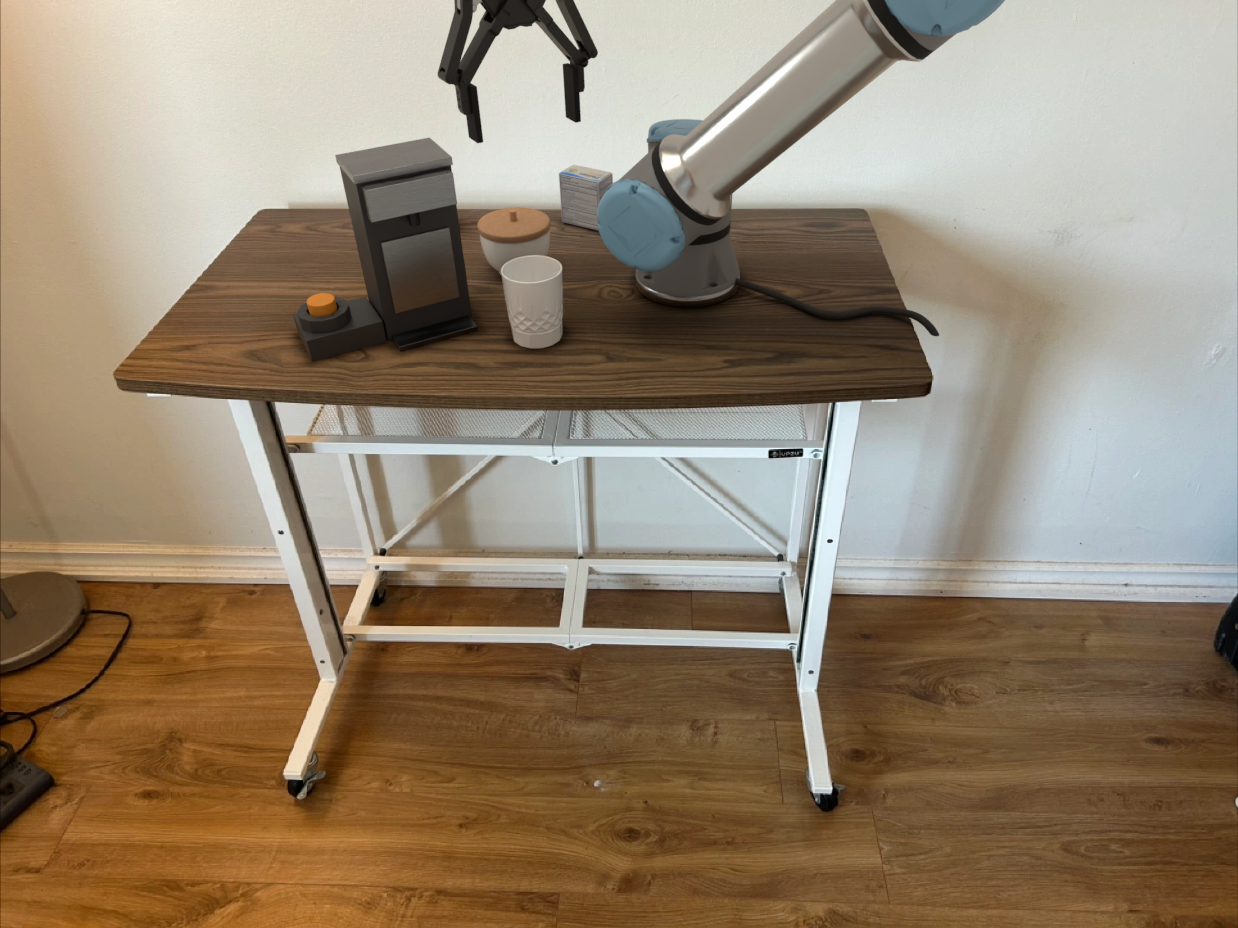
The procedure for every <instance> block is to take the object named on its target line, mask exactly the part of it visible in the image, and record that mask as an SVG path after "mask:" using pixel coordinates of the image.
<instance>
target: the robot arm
mask: <svg viewBox="0 0 1238 928" xmlns="http://www.w3.org/2000/svg"><path fill="white" fill-rule="evenodd" d="M546 1H547V0H454V1H453V2H454V13H453V16H452V19H451V23H450V27H449V30H448V34H447V38H446V42H445V45H444V48H443V49H444V50H443V52H442V56H441V60H440V62H439V66H438V70H437V77H438V79H440V80H441V81H442V82H444V83H446V84H448V85H454V88H455V95H456V103H457V109H458V112H459V113H461V114H462V115H464V116H465V118H466V125H467V133H468V138H469V139H471V141H474V142H475V143H476V144H482V143H484V137H483V135H484V134H483V128H482V127H483V126H482V119H481V112H480V111H481V110H480V102H479V94H478V87H477V86H476V85H475V84H473V83H472V81H473V79H474V78H475V76H476V73H477V72H478V70H479V68H480V66H481V65H482V63H483V60H484V59H485V57H486V55H487V53H488V51H489V50H490V48H491V46H492V45H493V43H494V42H495V39H496V37H498V36H500V34H501V32H502V30H503V29H505V30H508V31H509V30H516V29H517V28H519V27H524V28H526V27H533V25H534V23H535V24H536V25H537V26H538V27H539V29H541V30H542V32H543V33H544V34H545V35H546V36H547V37H548V38H549V40H550V41H551V42H552V43H553V44H554V45H555V46H556V47H557V49H558V50H559V51H560V53H562V55H563V56H564V57H565V58H566V59H567V61H569V62H565V63H562V74H563V75H562V76H563V77H562V78H563V93H564V111H565V118H567V119H568V120H570V121H571V122H574V123H575V124H577V123H581V122H582V117H581V116H582V115H581V114H582V113H581V97H580V93H584V92H585V86H586V83H585V68H587V67H588V65H589V61H590V60H591V59H595V58H597V56H598V54H599V51H598V48H597V46H596V44H595V43H594V40H593V38H592V36H591V33H590V31H589V30H588V28H587V26H586V24H585V21H584V19H583V17H582V15H581V12H580V11H579V9H578V7H577V5H576V3H575V0H555V3H556V5H557V7H558V9H559V11H560V14H561V15H562V17H563V20H564V21H565V24H566V25H567V28H568V29H569V32H570V34H571V36H572V37H573V39H574V42H575V44H576V45H575V44H574V43H573V42H572V41H571V39H570V38H569V37H568V36H567V35H566V34H565V32H564V31H563V30H562V29H561V28H560V27H559V25H558V24H557V23H556V21H554V18H553V17H552V16H551V14H550V13H549V12H548V11H547V9H545V7H544V5H545V3H546ZM1005 1H1006V0H834V1H833V2H832V3H831V4H830V5H829V6H828V7H827V8H826V9H825V10H824V11H823V12H821V13H820V14H819V15H818V16H816V18H814V20H812V22H810V23H808V25H807V26H806V27H804V28H803V30H801V31H800V32H799V33H798V34H797V35H796V36H795V37H794V38H793V39H791V40H790V41H789V42H788V43H787V44H786V45H785V46H784V47H783V48H782V49H780V50H779V51H778V52H777V53H776V54H775V55H774V56H773V57H771V58H770V59H769V60H768V61H767V62H766V63H765V64H764V65H762V67H760V68H759V69H758V70H757V71H756V72H755V73H754V74H753V75H752V76H750V77H749V78H748V79H747V80H746V81H745V82H744V83H743V84H742V85H740V86H739V88H737V89H736V90H735V91H734V92H733V93H731V95H730V96H728V97H727V98H726V99H725V100H724V101H723V102H721V104H720V105H718V106H717V107H716V108H715V109H714V110H713V111H712V112H710V113H709V114H708V116H706V117H705V118H704V119H692V118H691V119H690V118H686V119H685V118H677V119H666V120H661V121H657V122H655V123H653V124H651V125H650V127H649V129H648V132H647V138H646V143H647V153H646V154H644V156H643V157H642V158H641V159H639V160H638V162H637V163H636V164H634V165H633V166H632V167H631V168H630V169H628V171H627V172H626V173H625V174H623V176H621V177H620V178H619V179H618V180H615V181H613V184H611V185H610V186H609V187H608V189H607V190H606V192H605V194H604V195H603V197H602V199H601V200H600V203H599V206H598V210H597V219H598V220H597V221H598V229H599V231H598V233H599V236H600V238H601V240H602V242H603V244H604V246H605V247H606V248H607V250H608V251H609V252H610V254H612V255H613V257H614V258H615V259H616V260H618V261H619V262H621V263H622V264H623V265H625V266H627V267H629V268H631V269H635V286H636V288H637V291H639V293H640V294H641V295H642V296H644V297H645V298H647V299H649V300H651V301H653V302H656V303H659V304H661V305H665V306H672V307H680V308H697V307H699V308H700V307H706V306H711V305H716V304H718V303H721V302H723V301H725V300H728V299H729V298H731V297H733V295H735V294H736V293H737V291H738V290H739V288H740V287H741V288H743V289H747V290H750V291H752V292H755V293H758V294H761V295H764V296H766V297H769V298H772V299H775V300H777V301H780V302H783V303H785V304H789V305H790V306H793V307H795V308H797V309H799V310H801V311H804V312H806V313H808V314H810V315H813V316H817V317H821V318H827V319H847V318H854V317H859V316H863V315H869V314H884V315H892V316H899V317H900V316H901V317H904V318H905V317H906V318H909V319H912V320H913V321H916V322H918V323H919V324H920V325H921V326H923V327H924V328H925V330H926V331H927V332H928V333H929V335H931V336H932V337H940V333H939V331H938V330H937V328H936V326H935V325H934V324H933V323H932V322H931V321H930V320H929V319H928V318H927V317H925V316H924V315H922V314H921V313H919V312H917V311H914V310H910V309H905V308H899V307H892V306H883V305H871V306H864V307H863V306H862V307H859V308H853V309H850V310H849V309H848V310H842V311H840V310H839V311H834V310H827V309H826V310H825V309H822V308H817V307H815V306H812V305H810V304H808V303H805V302H803V301H801V300H800V299H797V298H794V297H792V296H789V295H787V294H784V293H781V292H778V291H776V290H774V289H771V288H767V287H765V286H762V285H759V284H756V283H753V282H750V281H748V280H744V279H741V270H740V267H739V262H738V258H737V255H736V251H735V249H734V245H733V241H732V236H731V220H732V207H733V194H734V193H735V192H736V191H738V190H739V189H740V188H741V187H742V186H744V185H745V184H746V183H747V182H749V181H750V180H751V179H752V178H754V177H755V176H756V175H757V174H759V173H760V172H761V171H763V169H765V168H766V167H767V166H769V165H770V164H772V162H774V161H775V160H777V159H778V157H780V156H781V155H782V154H784V153H785V152H786V151H787V150H789V149H790V148H791V147H792V146H794V145H795V144H796V143H798V141H800V140H801V139H802V138H804V137H805V136H806V135H807V134H808V133H810V132H811V131H812V130H814V129H815V128H816V127H817V126H819V124H821V123H822V122H823V121H825V120H826V119H828V117H829V116H831V115H832V114H833V113H835V112H836V111H837V110H838V109H840V108H841V107H842V106H843V105H845V104H846V103H847V102H849V100H851V99H852V98H853V97H854V96H857V94H859V92H861V91H862V90H864V89H865V88H866V87H867V86H868V85H870V84H871V83H873V81H875V79H877V78H878V77H879V76H880V75H882V74H883V73H884V72H886V71H887V70H888V69H890V67H892V66H894V64H896V63H897V62H900V61H907V62H917V63H920V62H922V61H924V60H925V59H926V58H927V57H929V56H930V55H931V54H932V53H934V52H935V51H936V50H937V49H939V48H941V47H942V46H943V45H944V44H945V43H947V42H948V41H949V40H951V39H952V38H954V37H955V36H956V35H957V34H959V33H963V32H964V31H968V30H970V29H971V28H972V27H974V26H975V27H976V26H977V25H980V24H981V23H982V22H984V21H985V20H987V19H989V17H990V16H991V15H992V14H994V12H996V11H997V10H998V9H999V8H1000V7H1001V6H1002V5H1003V4H1004V2H1005ZM479 4H480V5H481V6H482V9H484V10H485V11H484V13H483V15H482V17H481V18H480V21H479V23H478V28H477V30H476V31H475V34H474V36H473V37H472V39H471V41H470V43H469V45H468V46H467V48H466V50H465V46H466V43H467V39H468V37H469V32H470V29H471V25H472V22H473V16H474V14H475V12H477V9H478V6H479ZM464 50H465V52H464Z"/></svg>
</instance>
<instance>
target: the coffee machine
mask: <svg viewBox="0 0 1238 928" xmlns="http://www.w3.org/2000/svg"><path fill="white" fill-rule="evenodd" d="M334 157H335V161H336V164H337V165H338V166H339V170H340V175H341V180H342V184H343V190H344V192H345V197H346V202H347V207H348V211H349V216H350V220H351V221H350V222H351V225H352V230H353V234H354V239H355V244H356V249H357V253H358V258H359V262H360V266H361V272H362V276H363V280H364V284H365V290H366V294H367V299H368V301H369V302H370V304H371V305H372V307H373V308H374V310H375V311H376V313H377V314H378V316H379V317H380V319H381V320H382V322H383V327H384V332H385V336H386V340H387V342H393V344H394V345H395V346H396V347H397V349H398V350H399V352H400V353H402V352H405V351H408V350H413V349H417V348H420V347H423V346H427V345H430V344H434V343H435V344H436V343H439V342H442V341H445V340H449V339H452V338H457V337H460V336H464V335H467V334H470V333H471V334H472V333H475V332H478V330H479V329H478V325H477V324H476V322H475V321H474V320H473V314H472V306H471V300H470V292H469V286H468V279H467V271H466V263H465V258H464V249H463V242H462V234H461V229H460V228H461V227H460V221H459V213H458V200H457V192H456V184H455V178H454V173H453V171H452V170H453V169H452V166H453V165H454V163H453V157H452V156H451V155H450V154H449V153H448V152H447V151H445V149H443V148H442V147H441V146H440V145H439V144H438V143H437V142H436V141H434V140H433V139H432V138H431V137H424V138H420V139H413V140H409V141H408V140H407V141H403V142H399V143H398V142H397V143H393V144H387V145H381V146H376V147H371V148H366V149H361V150H354V151H349V152H345V153H339V154H335V155H334Z"/></svg>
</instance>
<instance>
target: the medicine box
mask: <svg viewBox="0 0 1238 928" xmlns="http://www.w3.org/2000/svg"><path fill="white" fill-rule="evenodd" d="M613 175H614V174H613V173H612V172H611V171H606V170H601V169H597V168H592V167H588V166H584V165H583V166H582V165H577V164H572V165H570V166H568V167H566V168H565V169H563V170H562V171H560V172H559V173H558V182H559V197H560V208H561V222H562V223H565V224H569V225H573V226H577V227H582V228H586V229H590V230H593V231H594V230H595V231H598V232H599V229H598V221H597V220H598V219H597V210H598V206H599V203H600V200H601V199H602V197H603V195H604V194H605V192H606V190H607V189H608V187H609V186H610V185H611V184H613V183H614V179H613V178H614V176H613Z"/></svg>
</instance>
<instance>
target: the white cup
mask: <svg viewBox="0 0 1238 928" xmlns="http://www.w3.org/2000/svg"><path fill="white" fill-rule="evenodd" d="M500 276H501V281H502V288H503V294H504V300H505V305H506V311H507V316H508V322H509V324H510V329H511V336H512V339H513V342H514V344H516V345H518V346H519V347H522V348H527V349H544V348H548V347H551V346H555V344H557V343H559V342H560V341H561V339H562V336H563V333H564V332H563V315H564V306H563V305H564V287H563V286H564V285H563V283H564V282H563V281H564V280H563V277H564V276H563V265H562V263H561V262H560V261H559V260H558V259H556V258H553V257H550V256H548V255H547V256H540V255H530V256H522V257H518V258H515V259H512V260H510V261H508V262H507V263H505V264H504V265H503V266H502V268H501V274H500Z"/></svg>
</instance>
